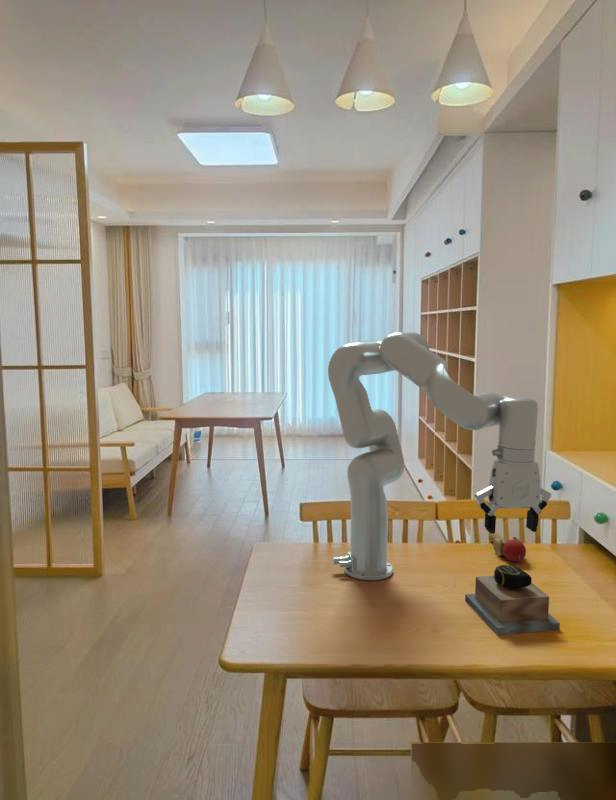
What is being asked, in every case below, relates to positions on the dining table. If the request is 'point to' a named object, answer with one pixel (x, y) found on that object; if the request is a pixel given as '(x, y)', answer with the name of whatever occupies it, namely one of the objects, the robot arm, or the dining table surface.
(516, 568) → the tape measure
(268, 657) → the dining table surface
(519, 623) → the plinth
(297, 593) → the dining table surface
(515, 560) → the kendama
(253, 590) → the dining table surface
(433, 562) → the dining table surface
